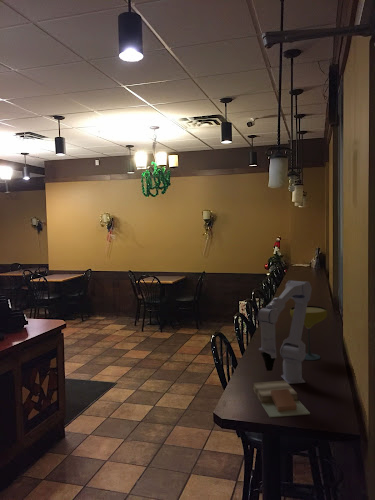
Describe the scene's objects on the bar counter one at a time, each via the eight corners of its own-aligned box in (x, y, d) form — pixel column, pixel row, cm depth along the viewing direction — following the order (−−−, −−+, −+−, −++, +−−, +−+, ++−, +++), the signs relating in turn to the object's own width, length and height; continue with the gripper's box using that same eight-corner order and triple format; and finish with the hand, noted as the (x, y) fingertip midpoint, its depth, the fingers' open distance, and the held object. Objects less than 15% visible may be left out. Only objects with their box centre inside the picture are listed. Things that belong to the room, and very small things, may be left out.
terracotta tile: (270, 394, 161) (270, 390, 160) (288, 393, 162) (288, 389, 161) (277, 411, 153) (278, 406, 152) (296, 409, 153) (296, 405, 153)
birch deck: (253, 390, 174) (252, 383, 174) (285, 387, 176) (285, 380, 175) (262, 404, 160) (262, 396, 160) (297, 401, 162) (297, 393, 161)
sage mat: (261, 404, 160) (261, 403, 160) (299, 401, 161) (299, 400, 161) (269, 417, 149) (269, 416, 149) (310, 414, 150) (310, 413, 150)
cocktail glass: (284, 358, 214) (283, 310, 212) (302, 349, 226) (301, 304, 225) (317, 365, 201) (316, 314, 200) (334, 356, 214) (333, 308, 212)
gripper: (254, 333, 176) (255, 365, 177) (263, 343, 162) (264, 377, 163) (270, 332, 177) (271, 363, 178) (281, 341, 163) (282, 375, 163)
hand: (269, 370), depth 170 cm, fingers closed
